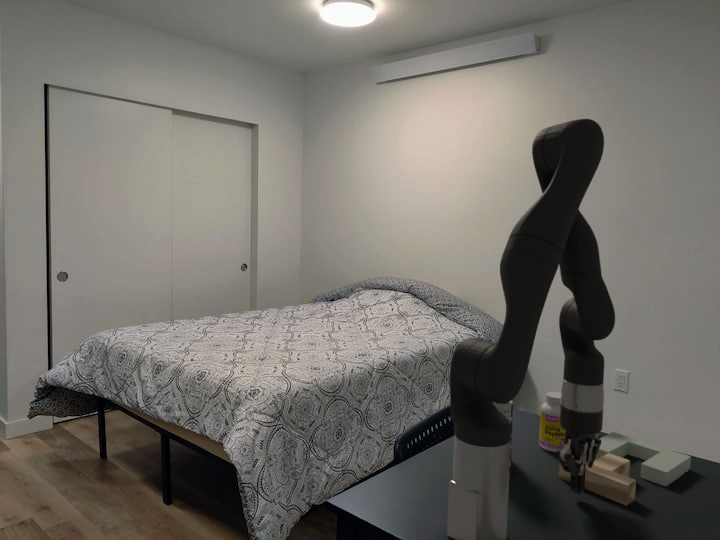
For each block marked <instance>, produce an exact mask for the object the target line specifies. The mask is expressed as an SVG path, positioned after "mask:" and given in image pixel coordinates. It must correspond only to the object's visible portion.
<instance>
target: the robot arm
mask: <svg viewBox="0 0 720 540" xmlns="http://www.w3.org/2000/svg"><path fill="white" fill-rule="evenodd" d="M604 149H605V135H604V132H603V129H602V127H601V125H600V124H599V123H598V122H596V121H595V120H593V119H590V118H579V119H578V118H577V119H573V120H570V121H566V122H562V123H559V124H555V125H552V126H547V127H545V128H542V129H541V130H539V131H538V133H536V135H535V136H534V139H533V141H532V147H531V154H532V160H533V161H532V162H533V165H534V170H535V174H536V176H537V179H538V182H539V186H540V189H541V195H540V196H539V197H538V199H536V200H535V202H534V203H533V204H532V205H531V206H530V207H529V208H528V210H527V211H525V213H524V214H523V215H522V216H521V217H520V218H519V220H518V221H517V222H516V224H514V227H513V228H512V230H511V232H510V235H509V236H508V239H507V241H506V242H507V243H506V244H505V248H504V250H503V253H502V256H501V258H500V264H499V275H500V281H501V287H502V292H503V296H504V300H505V317H504V322H503V326H502V329H501V331H500V335H499V338H498V340H497V342H494V341H489V340H486V339H481V338H477V337H470V338H465V339H463V340H462V341H461V342H460V343H459V344H458V345H457V346H456V348H455V350H453V354H452V357H451V361H450V367H449V394H450V395H449V398H450V401H449V405H450V407H449V410H450V417H451V420H452V422H453V425H454V434H453V435H454V439H453V459H452V460H453V461H452V462H453V465H452V480H449V482H448V495H447V496H448V497H447V498H448V499H447V500H448V504H447V525H446V526H447V530H446V535H447V536H448V537H450V538H451V539H454V540H507V535H508V534H507V533H508V511H509V510H508V509H509V489H510V488H509V487H510V486H509V485H510V478H509V469H510V448H511V424H510V422H509V420H508V419H507V418H506V417H505V416H504V415H503V414H502V413H501V412H500V411H499V410H498V409H497V408H496V406H495V405H494V403H493V402H496V403H500V404H505V403H508V402H510V401H511V400H514V399H515V398H516V396H517V395H518V394H519V392H520V390H521V388H522V387H523V384H524V381H525V379H526V376H527V372H528V367H529V365H530V361H531V355H532V352H533V347H534V344H535V339H536V335H537V330H538V327H539V323H540V320H541V316H542V313H543V310H544V307H545V304H546V302H547V299H548V298H547V297H548V296H549V291H550V289H551V286H552V284H553V282H554V279H555V276H556V274H557V271H558V268H559V272H560V277H561V278H560V279H561V283H562V284H563V286H564V287H566V289H568V290H569V291H570V292H571V293H572V296H573V297H572V298H570V299H568V300H567V301H565V303H563V305H562V307H561V309H560V312H559V316H558V317H559V318H558V320H559V321H558V327H559V335H560V340H561V345H562V351H563V354H564V361H563V379H562V380H563V381H562V385H561V391H560V393H561V406H560V425H561V426H562V427H563V428H564V429H565V431H566V435H565V438H564V444H565V446H564V448H563V450H562V451H561V450H559V449H558V450H557V452H555V456H556V457H557V459H558V462H560V464H561V466H562V468H563V470H564V471H566V472H569V473H570V482H569V489H570V491H571V492H572V493H574V494H577V495H580V494H582V493H584V492H585V474H586V473H587V472H588V467H589V468H592V466H593V463H594V461H595V458H596V455H597V453H598V450H599V448H600V445H601V439H600V438H599V437H598V438H596V437H595V434H597V433H599V434H600V433H601V431H602V430H603V421H604V406H605V405H604V402H605V391H604V390H605V389H604V377H605V358H604V355H603V353H601V351H599V350H598V348H597V347H596V345H595V341H602V340H605V339H607V337H609V336H610V335H611V334H612V332H613V330H614V328H615V326H616V325H615V324H616V312H615V307H614V305H613V302H612V298H611V295H610V293H609V291H608V287H607V285H606V283H605V280H604V278H603V276H602V268H601V267H602V266H601V257H600V251H599V250H600V249H599V244H598V241H597V237H596V235H595V232H594V231H593V229H592V227H591V226H590V224H589V222H588V221H587V219H586V217H584V215H583V213H581V211H580V206H581V204H582V202H583V199H584V198H585V195H586V193H587V191H588V189H589V187H590V185H591V182H592V181H593V179H594V176H595V174H596V171H597V170H598V168H599V166H600V163H601V161H602V157H603V155H604V154H603V153H604Z"/></svg>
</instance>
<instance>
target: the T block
mask: <svg viewBox="0 0 720 540" xmlns="http://www.w3.org/2000/svg"><path fill="white" fill-rule="evenodd" d="M558 462H559V461H558ZM630 465H631V460H630V459H627V458H624V457H619V456H616V455H613V454H610V453H608V454H606V455H604V456H602V457H600V458H598V459H596V460H595V461H594V463H593V466H592V468H589V467H588V472H587V473H586V474H585V489H586V490H587V491H590V492H593V493H595V494H597V495H599V496H602V497H604V498H607V499H609V500H612V501H614V502H617V503H620V504H622V505H623V506H625V507H626V506H628V505H629V504H631V503H632V502H633V501H635V500H636V487H637V485H636V484H637V480H636V479H635V478H634V479H633V478H631V477H630V467H631V466H630ZM558 479H561V480H564V481H565V482H568V483H570V473H569V472H566V471H564V470H563V468H562V466H561V464H560V462H559V463H558ZM585 489H584V490H585Z"/></svg>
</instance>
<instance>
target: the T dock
mask: <svg viewBox="0 0 720 540" xmlns="http://www.w3.org/2000/svg"><path fill="white" fill-rule="evenodd" d="M599 439H601V445H600V448H599V450H598V453H597V455H596V458H595V460H596V459H598V458H600V457H602V456H604V455H606V454H608V453H610V454H613V455H616V456H619V457H622V458H624V457H626V456H627V455H629V456H632V457H634V458H638V459H641V460H643V462H642V463H640V464H641V465H640V478H641V479H643V480H647V481H650V482H652V483H654V484H658V485H660V486H663V487H667V486H670V485H671V484H672V483H673V482H674V481H676V480H677V479H679V478H680V477H681V475H682V476H683V475H685V474H686V473H687V472H689V471H690V470H689V469H691V460H692V459H691V458H692V456H690V455H687V454H684V453H681V452H677V451H675V450H671V449H668V448H665V447H662V446H659V445H657V444H656V445H655V444H653V443H650V442H646V441H643V440H640V439H636V438H634V437H631V436H627V435H625V434H621V433H618V432H614V431H612V432H610V433H608V434H606V435H604V436H602V437H599ZM688 470H689V471H688ZM685 472H686V473H685ZM684 473H685V474H684Z"/></svg>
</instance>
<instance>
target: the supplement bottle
mask: <svg viewBox="0 0 720 540" xmlns="http://www.w3.org/2000/svg"><path fill="white" fill-rule="evenodd" d="M545 399H546V402H544V403H542V405H541V406H540V418H539V419H540V420H539V437H538V443H539V444H538V445H539V446H540V447H541V448H542V449H543V450H545V451H546V452H547V451H548V452H552V453H556V452H557V450H558V449H559V450H561V451H562V450H563V448H564V446H565V444H564V438H565V435H566V431H565V429H564V428H563V427H562V426H561V425H560V406H561V392H559V391H548V392H546V393H545Z"/></svg>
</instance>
